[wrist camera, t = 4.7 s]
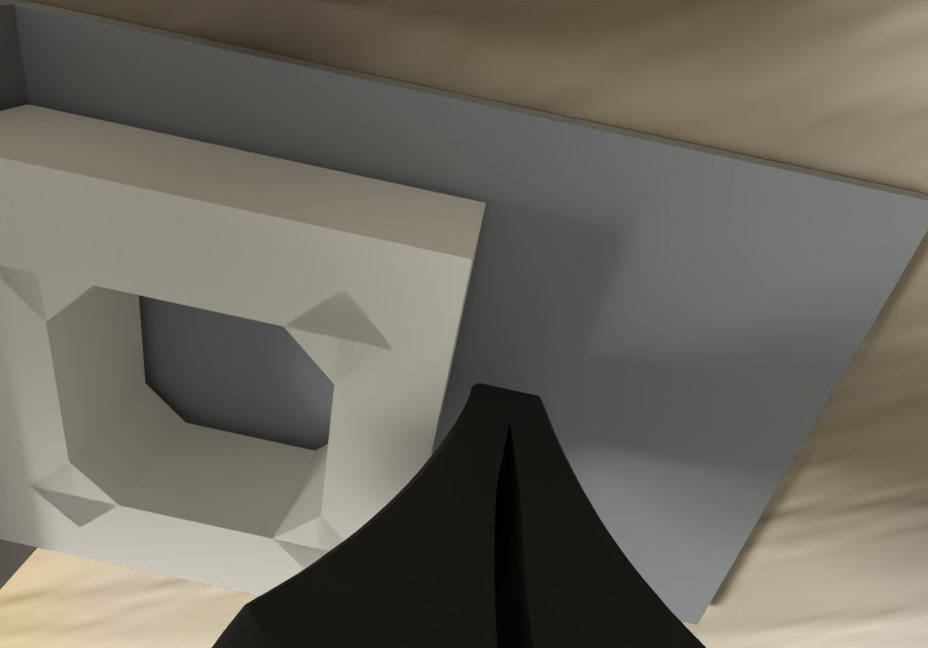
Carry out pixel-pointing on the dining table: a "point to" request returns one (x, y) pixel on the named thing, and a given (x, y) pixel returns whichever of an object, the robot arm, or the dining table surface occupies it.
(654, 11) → the dining table surface
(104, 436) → the holed block
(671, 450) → the base board
